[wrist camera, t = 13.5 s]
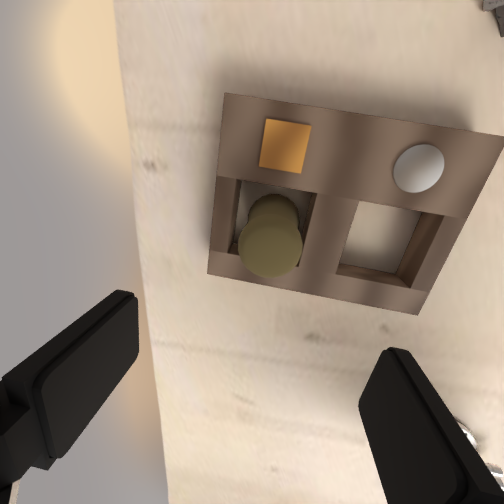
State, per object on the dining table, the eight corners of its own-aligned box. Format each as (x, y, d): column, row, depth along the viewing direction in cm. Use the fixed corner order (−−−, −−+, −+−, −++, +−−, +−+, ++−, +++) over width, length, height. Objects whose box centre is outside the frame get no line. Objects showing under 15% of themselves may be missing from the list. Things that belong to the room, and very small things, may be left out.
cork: (239, 207, 28) (214, 234, 17) (287, 184, 26) (291, 199, 16) (261, 251, 29) (250, 299, 19) (307, 232, 28) (322, 273, 18)
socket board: (476, 140, 23) (511, 136, 19) (402, 298, 29) (419, 317, 26) (232, 101, 24) (223, 91, 20) (214, 261, 31) (206, 275, 27)
